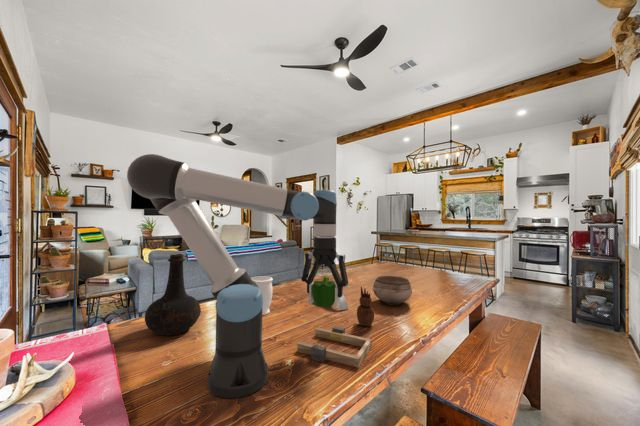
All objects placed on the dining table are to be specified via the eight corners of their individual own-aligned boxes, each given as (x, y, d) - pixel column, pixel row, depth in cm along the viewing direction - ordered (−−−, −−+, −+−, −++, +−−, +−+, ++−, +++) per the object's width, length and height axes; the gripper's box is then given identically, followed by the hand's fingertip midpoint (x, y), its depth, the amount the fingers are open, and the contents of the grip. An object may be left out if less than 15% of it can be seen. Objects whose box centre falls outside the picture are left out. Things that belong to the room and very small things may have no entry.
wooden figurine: (354, 324, 109) (354, 286, 110) (362, 320, 114) (362, 284, 114) (368, 329, 105) (369, 290, 105) (376, 325, 109) (377, 287, 109)
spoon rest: (307, 298, 142) (307, 285, 142) (326, 295, 149) (326, 282, 149) (334, 312, 123) (335, 296, 123) (354, 308, 129) (355, 293, 129)
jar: (266, 317, 115) (267, 282, 115) (243, 315, 117) (244, 280, 117) (275, 309, 125) (276, 276, 125) (254, 307, 127) (255, 275, 127)
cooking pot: (395, 294, 152) (396, 272, 152) (424, 304, 135) (424, 279, 136) (360, 301, 139) (360, 277, 139) (387, 313, 123) (387, 285, 123)
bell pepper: (312, 301, 95) (312, 272, 95) (335, 301, 95) (336, 273, 95) (311, 310, 87) (311, 278, 87) (337, 310, 87) (337, 278, 87)
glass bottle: (132, 336, 95) (134, 256, 96) (175, 318, 112) (177, 250, 112) (171, 345, 89) (172, 259, 90) (210, 325, 106) (211, 252, 106)
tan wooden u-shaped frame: (356, 371, 76) (356, 358, 76) (294, 354, 85) (294, 342, 85) (373, 344, 93) (373, 334, 93) (319, 332, 101) (319, 322, 101)
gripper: (359, 237, 90) (358, 306, 90) (301, 234, 99) (301, 297, 99) (352, 239, 83) (351, 313, 83) (291, 236, 92) (290, 303, 92)
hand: (324, 304), depth 91 cm, fingers closed on bell pepper, 8 cm apart
